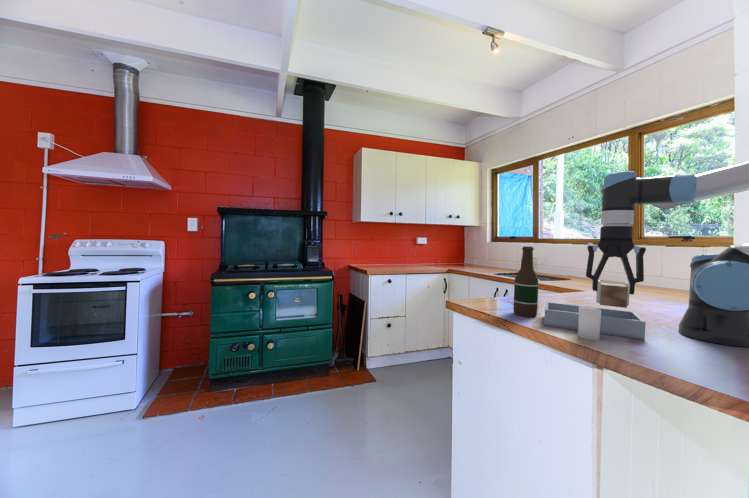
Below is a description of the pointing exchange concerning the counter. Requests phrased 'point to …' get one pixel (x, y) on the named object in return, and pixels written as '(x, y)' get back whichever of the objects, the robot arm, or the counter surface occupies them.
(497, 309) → the counter surface
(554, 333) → the counter surface
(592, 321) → the ceramic canister
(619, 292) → the walnut cube
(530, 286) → the beer bottle
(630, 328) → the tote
